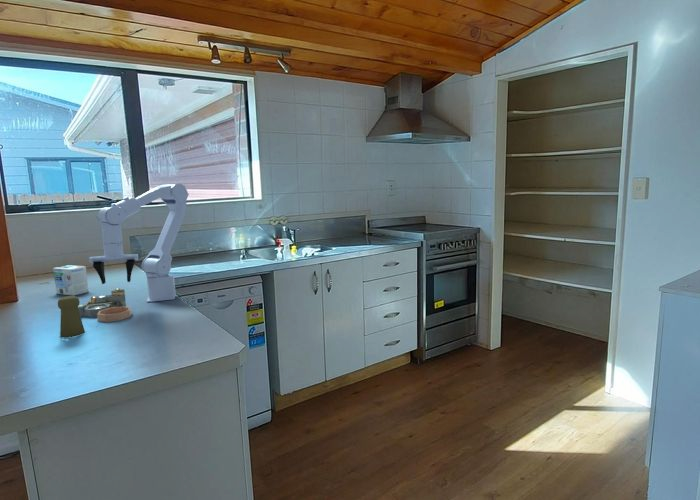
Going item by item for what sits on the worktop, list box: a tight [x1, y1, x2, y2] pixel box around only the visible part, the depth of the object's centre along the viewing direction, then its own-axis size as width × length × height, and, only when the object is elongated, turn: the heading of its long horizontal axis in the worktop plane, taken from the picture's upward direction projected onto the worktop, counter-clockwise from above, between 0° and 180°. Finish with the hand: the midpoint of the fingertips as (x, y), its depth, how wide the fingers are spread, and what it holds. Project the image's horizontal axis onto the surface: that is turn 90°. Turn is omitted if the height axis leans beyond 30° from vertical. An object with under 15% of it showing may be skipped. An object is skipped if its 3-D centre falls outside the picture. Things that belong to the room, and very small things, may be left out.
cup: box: [97, 306, 133, 323], centre depth 137 cm, size 9×9×2 cm
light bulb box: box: [52, 264, 90, 296], centre depth 172 cm, size 11×7×11 cm, turn 68°
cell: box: [110, 287, 127, 307], centre depth 146 cm, size 4×4×7 cm
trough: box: [83, 300, 113, 308], centre depth 150 cm, size 10×6×2 cm, turn 110°
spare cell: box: [89, 294, 112, 304], centre depth 150 cm, size 7×4×4 cm, turn 110°
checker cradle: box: [78, 303, 111, 318], centre depth 141 cm, size 9×7×3 cm
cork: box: [57, 295, 86, 339], centre depth 122 cm, size 6×6×11 cm
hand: (116, 282), depth 145 cm, fingers open, 7 cm apart
